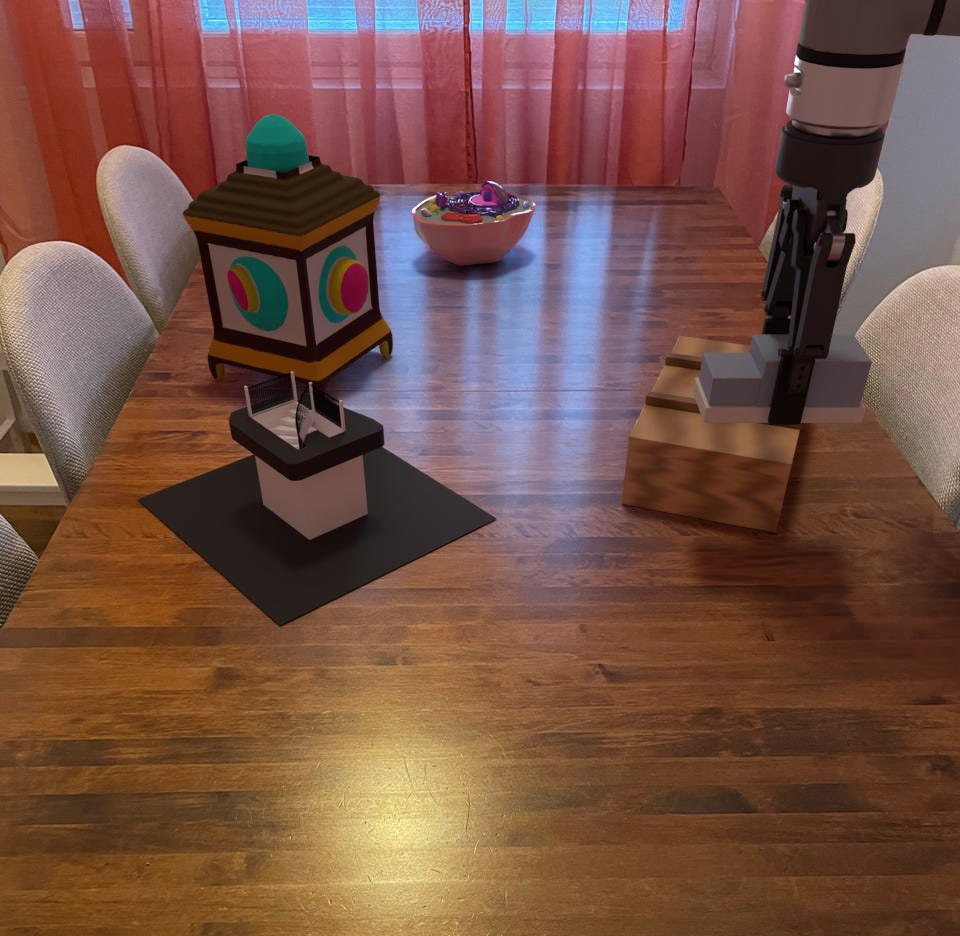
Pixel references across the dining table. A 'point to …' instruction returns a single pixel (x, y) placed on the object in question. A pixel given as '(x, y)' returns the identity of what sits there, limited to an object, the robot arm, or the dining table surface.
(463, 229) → the cell model
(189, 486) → the black-topped pedestal
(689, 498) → the stepped wooden block
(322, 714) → the dining table surface
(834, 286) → the robot arm
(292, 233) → the decorative lantern
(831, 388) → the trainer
